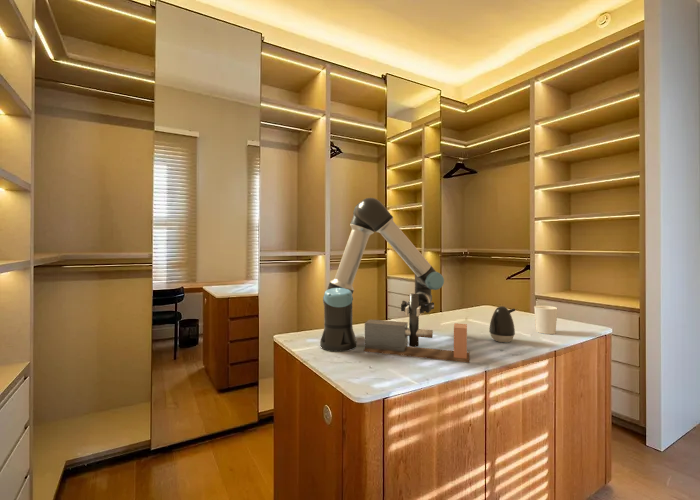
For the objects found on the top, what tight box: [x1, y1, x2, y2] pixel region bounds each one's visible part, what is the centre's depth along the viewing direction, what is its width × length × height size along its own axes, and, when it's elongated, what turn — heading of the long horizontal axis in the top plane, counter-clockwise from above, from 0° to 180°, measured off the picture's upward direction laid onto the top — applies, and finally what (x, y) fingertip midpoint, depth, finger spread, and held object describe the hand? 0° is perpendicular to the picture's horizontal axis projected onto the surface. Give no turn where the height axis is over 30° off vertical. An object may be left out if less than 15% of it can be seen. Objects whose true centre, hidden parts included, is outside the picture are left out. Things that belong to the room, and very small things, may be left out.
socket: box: [453, 322, 468, 359], centre depth 130 cm, size 4×7×11 cm, turn 161°
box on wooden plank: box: [364, 319, 409, 352], centre depth 139 cm, size 16×6×10 cm, turn 71°
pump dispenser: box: [489, 305, 516, 343], centre depth 152 cm, size 10×10×15 cm
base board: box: [363, 346, 471, 364], centre depth 135 cm, size 40×9×1 cm, turn 71°
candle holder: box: [533, 305, 558, 335], centre depth 167 cm, size 10×10×12 cm
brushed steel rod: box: [405, 292, 434, 347], centre depth 137 cm, size 24×4×20 cm, turn 71°
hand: (411, 312), depth 130 cm, fingers closed on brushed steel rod, 4 cm apart
